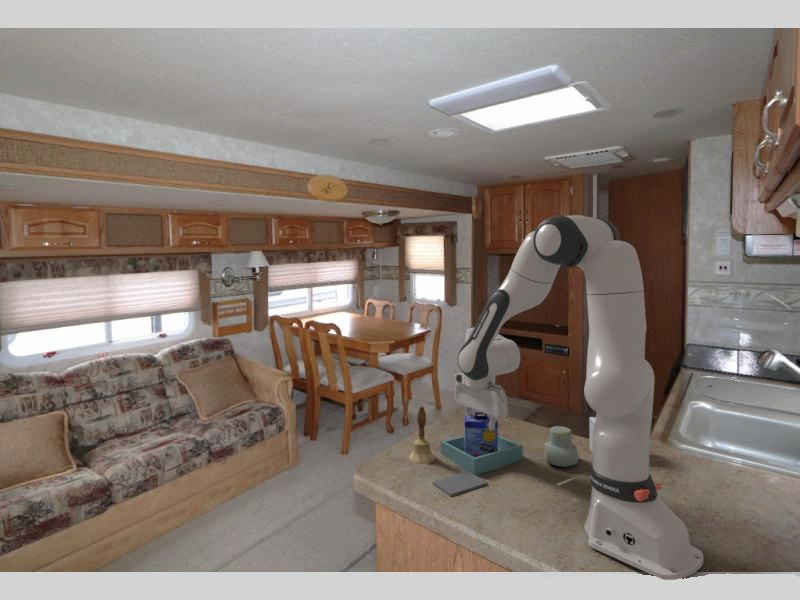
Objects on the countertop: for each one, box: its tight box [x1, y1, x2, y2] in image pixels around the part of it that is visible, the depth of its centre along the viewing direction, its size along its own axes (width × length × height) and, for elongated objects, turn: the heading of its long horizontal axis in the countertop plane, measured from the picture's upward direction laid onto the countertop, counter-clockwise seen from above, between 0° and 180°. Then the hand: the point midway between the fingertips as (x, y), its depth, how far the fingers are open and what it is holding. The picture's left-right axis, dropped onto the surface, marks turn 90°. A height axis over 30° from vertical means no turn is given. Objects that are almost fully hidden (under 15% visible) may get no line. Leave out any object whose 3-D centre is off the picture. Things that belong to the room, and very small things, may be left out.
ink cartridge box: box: [463, 411, 499, 457], centre depth 136 cm, size 10×6×14 cm, turn 84°
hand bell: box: [408, 406, 436, 465], centre depth 137 cm, size 8×8×16 cm
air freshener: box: [543, 425, 579, 468], centre depth 132 cm, size 11×8×10 cm
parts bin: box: [440, 434, 524, 476], centre depth 137 cm, size 16×18×4 cm
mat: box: [432, 471, 489, 497], centre depth 120 cm, size 8×12×1 cm, turn 120°
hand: (480, 425), depth 136 cm, fingers closed on ink cartridge box, 8 cm apart
